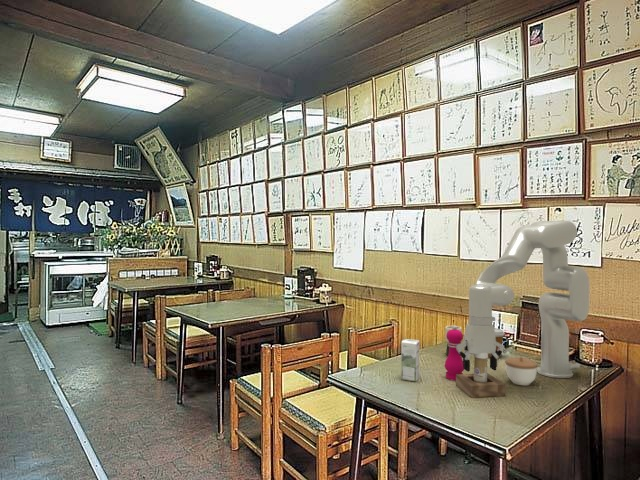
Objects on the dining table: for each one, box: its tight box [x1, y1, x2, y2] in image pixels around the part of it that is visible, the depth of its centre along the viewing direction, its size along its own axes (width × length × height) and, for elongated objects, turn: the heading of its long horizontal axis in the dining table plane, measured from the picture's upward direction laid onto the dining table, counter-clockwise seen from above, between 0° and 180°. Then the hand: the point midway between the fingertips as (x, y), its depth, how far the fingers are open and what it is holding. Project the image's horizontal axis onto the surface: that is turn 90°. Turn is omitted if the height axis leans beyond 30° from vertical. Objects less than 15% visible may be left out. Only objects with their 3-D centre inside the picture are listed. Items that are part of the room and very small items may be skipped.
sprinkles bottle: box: [473, 353, 489, 383], centre depth 153 cm, size 5×5×13 cm
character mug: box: [444, 325, 463, 356], centre depth 196 cm, size 11×7×13 cm, turn 140°
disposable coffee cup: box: [488, 327, 505, 359], centre depth 195 cm, size 10×10×12 cm
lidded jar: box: [504, 356, 538, 386], centre depth 161 cm, size 11×11×9 cm
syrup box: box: [400, 338, 420, 382], centre depth 165 cm, size 6×6×14 cm
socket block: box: [455, 372, 506, 399], centre depth 153 cm, size 12×12×4 cm
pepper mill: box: [444, 324, 465, 381], centre depth 166 cm, size 7×7×20 cm
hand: (479, 369), depth 153 cm, fingers open, 9 cm apart
